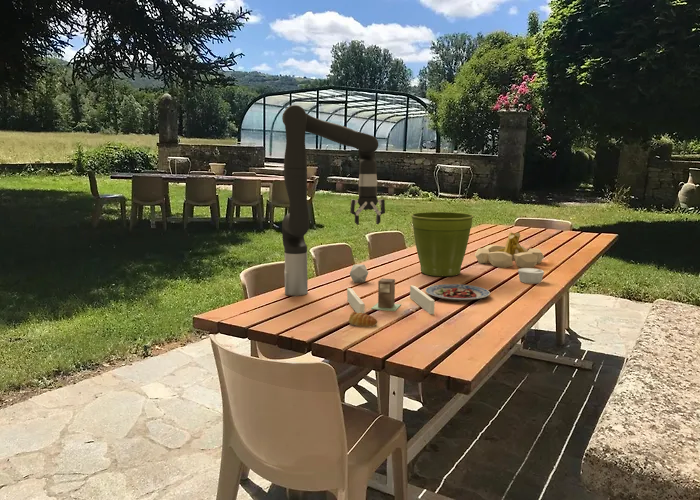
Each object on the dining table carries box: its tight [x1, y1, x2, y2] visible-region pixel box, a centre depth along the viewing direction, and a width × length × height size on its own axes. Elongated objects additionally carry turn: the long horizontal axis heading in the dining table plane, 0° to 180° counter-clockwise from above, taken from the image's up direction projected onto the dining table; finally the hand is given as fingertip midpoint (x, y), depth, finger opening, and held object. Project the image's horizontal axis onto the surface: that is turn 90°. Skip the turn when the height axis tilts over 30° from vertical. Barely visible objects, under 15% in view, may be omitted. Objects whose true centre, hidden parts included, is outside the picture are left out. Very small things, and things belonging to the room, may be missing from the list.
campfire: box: [474, 232, 545, 269], centre depth 294 cm, size 35×34×17 cm
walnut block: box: [377, 277, 396, 308], centre depth 203 cm, size 5×5×10 cm
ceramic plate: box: [425, 283, 491, 302], centre depth 221 cm, size 26×26×3 cm
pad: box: [371, 302, 402, 312], centre depth 204 cm, size 9×9×1 cm
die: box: [349, 264, 369, 283], centre depth 247 cm, size 8×9×10 cm
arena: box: [346, 285, 436, 315], centre depth 204 cm, size 27×24×5 cm
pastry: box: [348, 311, 378, 328], centre depth 182 cm, size 9×7×4 cm
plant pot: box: [410, 211, 474, 277], centre depth 264 cm, size 30×30×29 cm
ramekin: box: [517, 267, 545, 285], centre depth 248 cm, size 11×11×5 cm
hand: (367, 224), depth 226 cm, fingers open, 8 cm apart
